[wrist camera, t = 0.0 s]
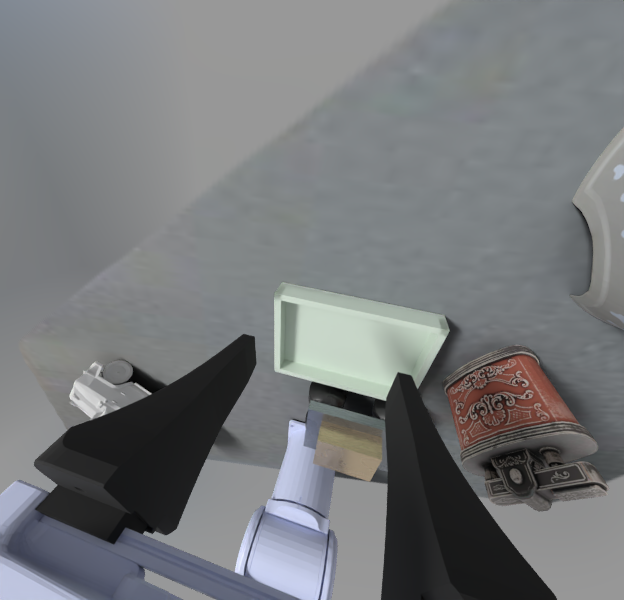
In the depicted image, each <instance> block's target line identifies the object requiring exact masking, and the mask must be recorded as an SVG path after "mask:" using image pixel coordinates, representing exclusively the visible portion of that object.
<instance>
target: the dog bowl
mask: <svg viewBox="0 0 624 600" xmlns="http://www.w3.org/2000/svg"><path fill="white" fill-rule="evenodd" d="M572 202H573V203H574V204H575V206H576V207H577V208H579V209H580V210H581V211H582V213H583V215H584V217H585V219H586V221H587V223H588V225H589V229H590V232H591V235H592V240H593V264H592V274H591V284H590V288H589V291H587V292H586V293H585V294H583V295H581V296H574V295H569V296H570V297H571V298H572V300H573V301H574V302H575V303H576V304H577V305H578V306H580V307H581V308H582V309H583V310H585V311H586V312H587V313H589V314H590V315H592V316H594V317H596V318H598V319H600V320H602V321H604V322H606V323H608V324H610V325H613V326H615V327H618V328H620V329H623V330H624V127H623V129H622V130H621V131H620V132H619V133H618V134H617V135H616V137H615V138H614V139H613V140H612V141H611V143H610V144H609V145H608V146H607V148H606V149H605V150H604V151H603V153H602V154H601V155H600V156H599V158H598V159H597V161H596V162H595V163H594V165H593V166H592V168H591V169H590V170H589V172H588V174H587V175H586V177H585V178H584V180H583V181H582V183H581V185H580V187H579V188H578V190H577V192H576V194H575V196H574V198H573V200H572Z"/></svg>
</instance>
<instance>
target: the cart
mask: <svg viewBox="0 0 624 600" xmlns="http://www.w3.org/2000/svg"><path fill="white" fill-rule="evenodd" d="M346 396H347V391H346V390H343V389H340V388H336V387H332V386H328V385H325V384H321V383H317V382H312V383H311V385H310V390H309V403H310V405H309V409H308V412H307V415H306V421H305V428H306V430H305V437H304V445H303V446H305V447H309V448H312V449H315V455H314V460H313V464H316V465H319V466H322V467H325V468H328V469H331V470H334V471H337V472H341V473H344V474H347V475H350V476H353V477H356V478H359V479H363V480H366V481H369V482H370V480H371V479H372V477H373V475H374V473H375V472H376V470H377V469H380V470H383V471H386V472H388V468H387V450H386V432H385V409H386V401H385V400H381V399H377V398H376V400H375V403H374V405H373V408H372V416H373V417H370V416H366V415H363V414H359V413H355V412H352V411H348V410H345V409H343V407H344V404H345V400H346Z"/></svg>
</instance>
